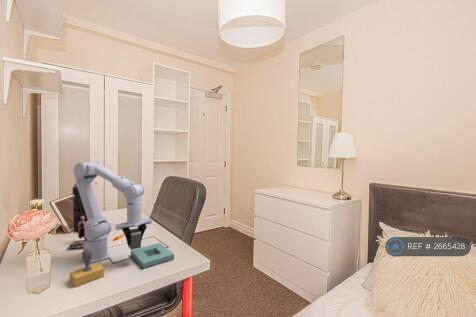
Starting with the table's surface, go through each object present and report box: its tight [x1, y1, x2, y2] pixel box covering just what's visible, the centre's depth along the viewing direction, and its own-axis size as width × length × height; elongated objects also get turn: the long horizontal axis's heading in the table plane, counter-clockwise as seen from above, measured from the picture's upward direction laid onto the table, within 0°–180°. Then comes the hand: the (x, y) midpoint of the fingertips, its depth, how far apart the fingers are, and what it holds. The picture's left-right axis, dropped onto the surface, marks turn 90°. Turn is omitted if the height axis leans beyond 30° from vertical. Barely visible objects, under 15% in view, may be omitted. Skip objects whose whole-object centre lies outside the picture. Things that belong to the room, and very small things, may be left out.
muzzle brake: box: [72, 183, 88, 234], centre depth 142 cm, size 10×28×10 cm
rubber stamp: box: [69, 248, 105, 288], centre depth 91 cm, size 10×6×12 cm, turn 140°
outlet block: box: [130, 242, 175, 270], centre depth 110 cm, size 14×16×2 cm
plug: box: [127, 228, 142, 251], centre depth 104 cm, size 4×5×7 cm
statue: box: [66, 216, 87, 250], centre depth 121 cm, size 11×9×15 cm
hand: (134, 242), depth 104 cm, fingers closed on plug, 4 cm apart
